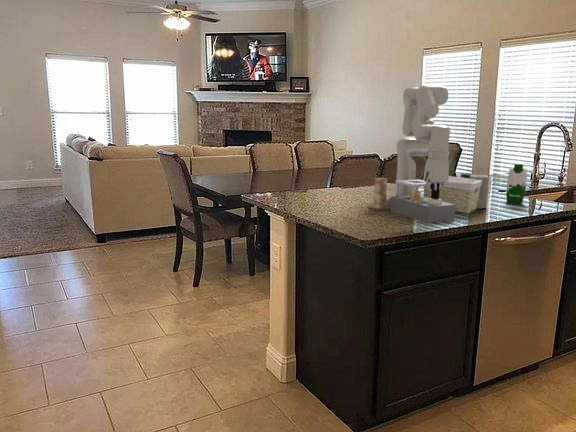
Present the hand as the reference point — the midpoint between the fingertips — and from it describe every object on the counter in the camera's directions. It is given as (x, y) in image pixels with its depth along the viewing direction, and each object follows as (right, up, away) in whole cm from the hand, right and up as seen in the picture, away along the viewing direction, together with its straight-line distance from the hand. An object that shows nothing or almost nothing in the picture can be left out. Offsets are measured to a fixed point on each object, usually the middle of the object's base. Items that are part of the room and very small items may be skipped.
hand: (434, 198), depth 216 cm
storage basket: (+15, -4, +26) cm, 31 cm away
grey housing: (-4, -7, +9) cm, 12 cm away
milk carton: (+54, -1, +44) cm, 70 cm away
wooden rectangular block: (-20, -4, +22) cm, 30 cm away
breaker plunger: (-6, -5, +13) cm, 15 cm away
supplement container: (+37, +4, +63) cm, 73 cm away
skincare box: (+29, -3, +31) cm, 43 cm away
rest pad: (-20, -4, +22) cm, 30 cm away
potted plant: (+31, +8, +84) cm, 90 cm away
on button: (0, -7, +2) cm, 7 cm away
